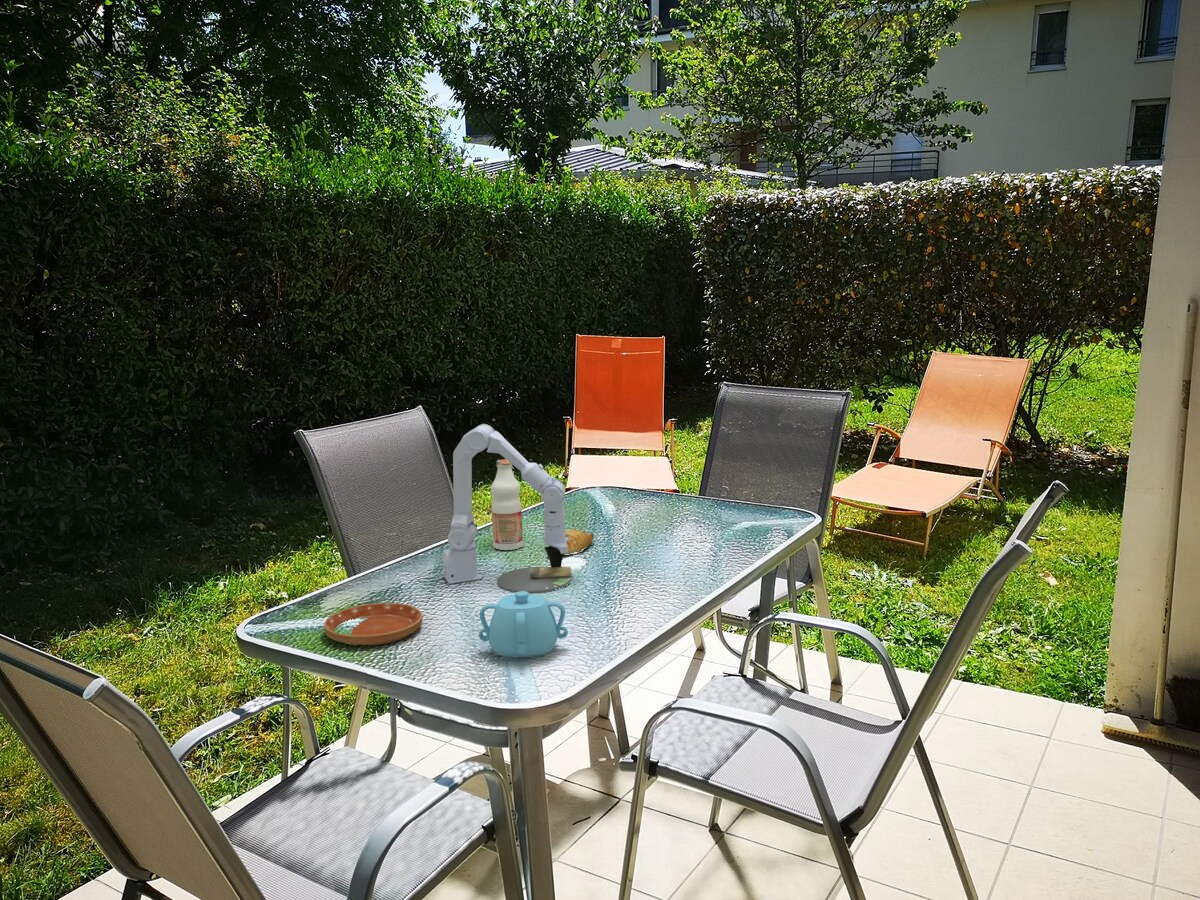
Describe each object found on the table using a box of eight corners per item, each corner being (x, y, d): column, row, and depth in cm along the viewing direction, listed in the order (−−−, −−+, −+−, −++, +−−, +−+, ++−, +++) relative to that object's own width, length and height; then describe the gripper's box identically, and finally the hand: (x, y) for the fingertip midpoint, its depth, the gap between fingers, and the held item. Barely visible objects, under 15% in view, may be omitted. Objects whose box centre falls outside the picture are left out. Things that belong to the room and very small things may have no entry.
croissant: (555, 571, 272) (564, 551, 268) (532, 552, 276) (540, 531, 273) (598, 553, 288) (607, 533, 285) (576, 535, 293) (584, 515, 289)
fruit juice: (487, 547, 287) (482, 461, 282) (510, 541, 293) (506, 456, 288) (505, 553, 280) (501, 464, 275) (529, 547, 286) (525, 460, 281)
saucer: (383, 609, 233) (382, 595, 233) (442, 628, 219) (441, 614, 218) (305, 636, 216) (304, 621, 216) (364, 659, 202) (362, 643, 201)
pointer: (530, 578, 251) (529, 570, 250) (530, 575, 253) (529, 567, 253) (571, 576, 252) (570, 568, 251) (570, 573, 254) (570, 565, 254)
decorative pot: (532, 631, 215) (530, 576, 213) (574, 650, 203) (572, 592, 201) (474, 650, 205) (471, 592, 203) (514, 671, 193) (511, 610, 190)
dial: (510, 597, 239) (509, 594, 239) (488, 575, 258) (488, 572, 258) (584, 586, 247) (583, 583, 247) (557, 565, 266) (557, 562, 266)
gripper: (577, 529, 246) (579, 576, 249) (559, 517, 259) (560, 562, 262) (553, 532, 244) (555, 580, 246) (535, 520, 257) (537, 565, 259)
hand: (556, 571), depth 254 cm, fingers closed, pressing on pointer
